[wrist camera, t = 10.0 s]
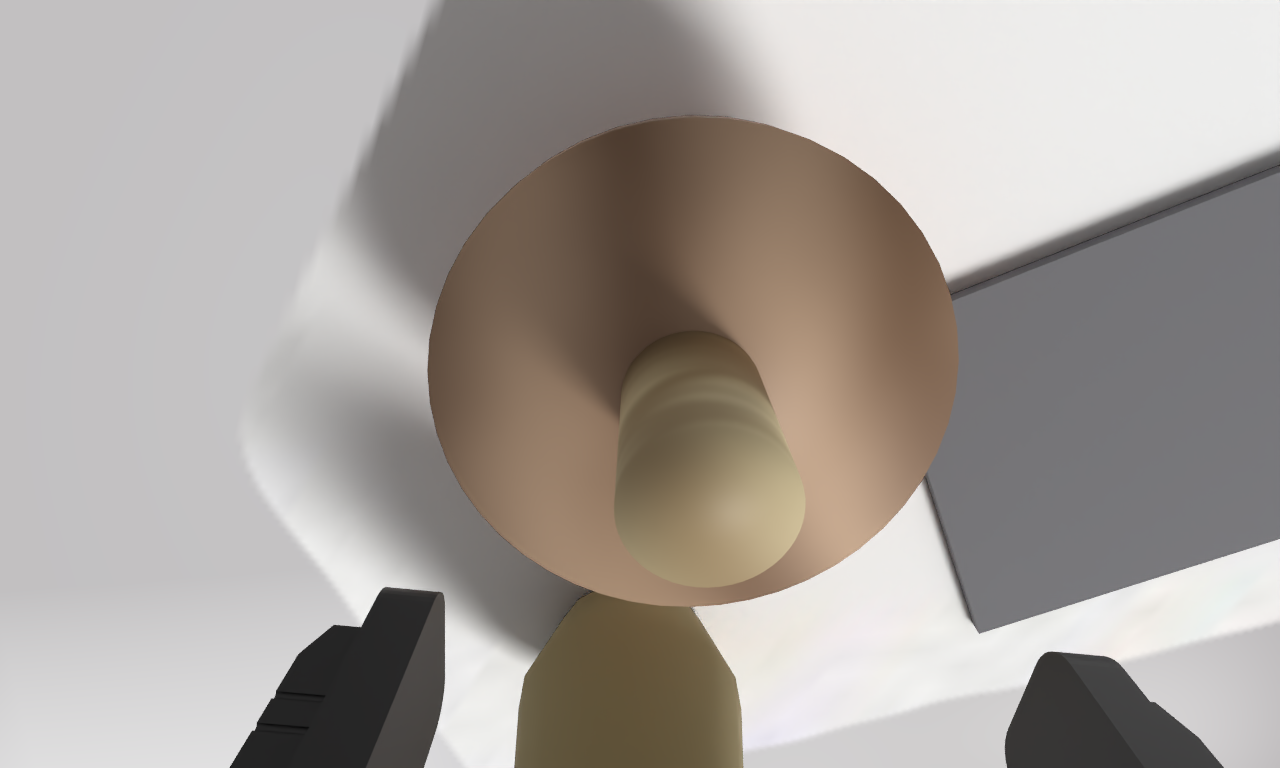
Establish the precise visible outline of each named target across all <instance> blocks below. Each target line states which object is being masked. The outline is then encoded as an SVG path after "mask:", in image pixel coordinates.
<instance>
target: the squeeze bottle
mask: <svg viewBox="0 0 1280 768" xmlns="http://www.w3.org/2000/svg"><path fill="white" fill-rule="evenodd" d="M514 768H743V746H742V718H741V706H740V700H739V695H738V689H737V684H736V679H735V676H734V674H733V673H732V671H731V670H730V668H729V666H728V665H727V663H726V662H725V660H724V658H723V657H722V655H721V654H720V652H719V650H718V649H717V647H716V645H715V644H714V642H713V641H712V639H711V637H710V636H709V634H708V633H707V631H706V629H705V628H704V626H703V625H702V623H701V621H700V620H699V618H698V617H697V616H696V615H695V613H694V612H693V611H692V610H691V608H690V607H683V606H659V605H652V604H645V603H638V602H631V601H627V600H623V599H619V598H615V597H611V596H607V595H603V594H600V593H597V592H595V591H593V592H591V593H590V594H588V595H586V596H584V597H582V598H580V599H579V600H578V601H577V602H576V603H575V605H574V606H573V607H572V608H571V610H570V611H569V612H568V613H567V615H566V616H565V617H564V618H563V620H562V621H561V623H560V624H559V626H558V627H557V629H556V630H555V632H554V633H553V635H552V636H551V638H550V639H549V641H548V642H547V644H546V645H545V647H544V648H543V650H542V651H541V653H540V654H539V655H538V657H537V658H536V660H535V661H534V663H533V664H532V666H531V667H530V669H529V670H528V672H527V673H526V675H525V678H524V683H523V688H522V694H521V699H520V704H519V712H518V726H517V739H516V753H515V767H514Z"/></svg>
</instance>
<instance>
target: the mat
mask: <svg viewBox="0 0 1280 768" xmlns="http://www.w3.org/2000/svg"><path fill="white" fill-rule="evenodd" d="M951 299H952V304H953V309H954V314H955V320H956V325H957V334H958V354H959V364H958V374H957V385H956V394H955V398H954V402H953V406H952V411H951V415H950V419H949V423H948V426H947V429H946V431H945V434H944V436H943V439H942V441H941V444H940V447H939V449H938V452H937V454H936V456H935V458H934V459H933V461H932V463H931V465H930V467H929V469H928V471H927V472H926V474H925V476H926V479H927V482H928V485H929V488H930V492H931V495H932V498H933V501H934V504H935V507H936V510H937V513H938V516H939V519H940V522H941V525H942V529H943V532H944V535H945V538H946V541H947V544H948V547H949V550H950V553H951V556H952V559H953V562H954V565H955V569H956V572H957V575H958V578H959V581H960V584H961V587H962V590H963V593H964V596H965V599H966V602H967V605H968V609H969V612H970V615H971V618H972V621H973V624H974V626H975V628H976V629H977V631H978V633H979V634H980V633H983V632H986V631H989V630H992V629H995V628H999V627H1002V626H1005V625H1008V624H1011V623H1014V622H1018V621H1021V620H1024V619H1027V618H1030V617H1033V616H1037V615H1040V614H1043V613H1046V612H1049V611H1052V610H1056V609H1059V608H1062V607H1065V606H1068V605H1072V604H1075V603H1078V602H1081V601H1084V600H1087V599H1091V598H1094V597H1097V596H1100V595H1103V594H1106V593H1110V592H1113V591H1116V590H1119V589H1122V588H1125V587H1129V586H1132V585H1135V584H1138V583H1141V582H1144V581H1148V580H1151V579H1154V578H1157V577H1160V576H1164V575H1167V574H1170V573H1173V572H1176V571H1179V570H1183V569H1186V568H1189V567H1192V566H1195V565H1198V564H1202V563H1205V562H1208V561H1211V560H1214V559H1217V558H1221V557H1224V556H1227V555H1230V554H1233V553H1236V552H1240V551H1243V550H1246V549H1249V548H1252V547H1255V546H1259V545H1262V544H1265V543H1268V542H1271V541H1275V540H1278V539H1280V165H1279V166H1276V167H1273V168H1271V169H1268V170H1266V171H1263V172H1261V173H1258V174H1256V175H1253V176H1251V177H1248V178H1246V179H1243V180H1241V181H1238V182H1236V183H1233V184H1230V185H1228V186H1225V187H1223V188H1220V189H1218V190H1215V191H1213V192H1210V193H1208V194H1205V195H1203V196H1200V197H1198V198H1195V199H1192V200H1190V201H1187V202H1185V203H1182V204H1180V205H1177V206H1175V207H1172V208H1170V209H1167V210H1165V211H1162V212H1160V213H1157V214H1154V215H1152V216H1149V217H1147V218H1144V219H1142V220H1139V221H1137V222H1134V223H1132V224H1129V225H1127V226H1124V227H1122V228H1119V229H1116V230H1114V231H1111V232H1109V233H1106V234H1104V235H1101V236H1099V237H1096V238H1094V239H1091V240H1089V241H1086V242H1084V243H1081V244H1078V245H1076V246H1073V247H1071V248H1068V249H1066V250H1063V251H1061V252H1058V253H1056V254H1053V255H1051V256H1048V257H1046V258H1043V259H1040V260H1038V261H1035V262H1033V263H1030V264H1028V265H1025V266H1023V267H1020V268H1018V269H1015V270H1013V271H1010V272H1008V273H1005V274H1003V275H1000V276H997V277H995V278H992V279H990V280H987V281H985V282H982V283H980V284H977V285H975V286H972V287H970V288H967V289H965V290H962V291H959V292H957V293H954V294H952V295H951Z"/></svg>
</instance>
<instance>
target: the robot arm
mask: <svg viewBox="0 0 1280 768" xmlns="http://www.w3.org/2000/svg"><path fill="white" fill-rule="evenodd" d="M444 684H445V601H444V595H443V593H441V592H433V591H422V590H411V589H401V588H390V587H385V588H383V589H382V590H381V592H380V593H379V594H378V596H377V598H376V600H375V602H374V604H373V606H372V608H371V609H370V611H369V613H368V615H367V617H366V619H365V621H364V623H363V625H362V627H351V626H340V625H333V626H332V627H331V628H330V629H328V630H327V631H326V632H325V633H324V634H322V635H321V636H320V637H319V638H318V639H316V640H315V641H314V642H313V643H311V644H310V645H309V646H308V647H307V648H305V649H304V650H303V651H302V652H301V653H299V654H298V656H297V657H296V659H295V661H294V663H293V664H292V666H291V668H290V669H289V671H288V672H287V674H286V676H285V677H284V679H283V681H282V682H281V684H280V686H279V687H278V689H277V690H276V696H275V698H274V699H271V700H270V702H269V704H268V705H267V707H266V709H265V710H264V712H263V714H262V716H261V717H260V718H259V720H258V722H257V727H256V729H255V731H252V732H251V733H250V735H249V737H248V739H247V740H246V742H245V743H244V745H243V747H242V748H241V750H240V752H239V753H238V755H237V756H236V758H235V760H234V761H233V763H232V765H231V766H230V768H424V765H425V762H426V759H427V756H428V753H429V750H430V747H431V744H432V741H433V738H434V735H435V731H436V728H437V725H438V721H439V716H440V712H441V707H442V701H443V694H444ZM1005 756H1006V763H1007V768H1224V767H1223V766H1222V765H1221V764H1220V763H1219V761H1218V760H1217V759H1216V758H1215V757H1214V756H1213V754H1212V753H1211V752H1210V751H1209V750H1208V748H1207V747H1206V746H1205V745H1204V743H1203V742H1202V741H1201V740H1200V739H1199V738H1198V737H1197V736H1196V735H1195V734H1193V733H1192V732H1191V731H1190V730H1188V729H1187V728H1186V727H1185V726H1183V725H1182V724H1181V723H1180V722H1179V721H1177V720H1176V719H1175V718H1174V717H1172V716H1171V715H1170V714H1169V713H1167V712H1166V711H1165V710H1164V709H1163V708H1161V707H1160V706H1159V705H1158V704H1156V703H1155V702H1150V701H1149V700H1148V699H1147V697H1146V696H1145V695H1144V694H1143V692H1142V691H1141V690H1140V689H1139V687H1138V686H1137V685H1136V684H1135V682H1134V681H1133V680H1132V679H1131V678H1130V676H1129V675H1128V674H1127V672H1126V671H1125V670H1124V669H1123V668H1122V667H1121V665H1120V664H1119V663H1117V662H1116V661H1115V660H1113V659H1111V658H1109V657H1105V656H1094V655H1084V654H1073V653H1062V652H1047V653H1045V654H1043V655H1042V656H1041V657H1040V659H1039V660H1038V662H1037V664H1036V666H1035V669H1034V671H1033V673H1032V675H1031V678H1030V680H1029V682H1028V685H1027V687H1026V689H1025V692H1024V694H1023V696H1022V699H1021V701H1020V703H1019V705H1018V708H1017V710H1016V712H1015V715H1014V717H1013V719H1012V722H1011V724H1010V726H1009V728H1008V731H1007V735H1006V740H1005Z"/></svg>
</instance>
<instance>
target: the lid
mask: <svg viewBox="0 0 1280 768" xmlns="http://www.w3.org/2000/svg"><path fill="white" fill-rule="evenodd" d="M958 364H959V354H958V334H957V325H956V320H955V314H954V309H953V304H952V299H951V295H950V292H949V289H948V287H947V284H946V281H945V278H944V276H943V273H942V270H941V267H940V264H939V262H938V260H937V259H936V257H935V255H934V253H933V251H932V249H931V248H930V246H929V244H928V242H927V240H926V238H925V237H924V235H923V233H922V232H921V230H920V229H919V228H918V226H917V225H916V224H915V222H914V221H913V220H912V218H911V217H910V216H909V214H908V213H907V212H906V210H905V209H904V208H903V207H902V205H901V204H900V203H899V202H898V201H897V200H896V199H895V198H894V197H893V196H892V195H891V194H890V193H889V192H888V191H887V190H885V189H884V188H883V187H882V186H881V185H880V184H879V183H878V182H877V181H876V180H875V179H874V178H873V177H871V176H870V175H868V174H867V173H866V172H864V171H863V170H861V169H860V168H859V167H857V166H856V165H854V164H853V163H852V162H850V161H849V160H847V159H846V158H845V157H843V156H841V155H839V154H837V153H835V152H833V151H831V150H829V149H827V148H825V147H823V146H821V145H819V144H817V143H816V142H814V141H812V140H810V139H807V138H804V137H801V136H799V135H796V134H793V133H790V132H787V131H784V130H781V129H778V128H775V127H772V126H769V125H766V124H763V123H758V122H753V121H747V120H742V119H737V118H731V117H722V116H700V115H685V116H675V117H664V118H654V119H649V120H645V121H640V122H636V123H632V124H628V125H624V126H619V127H616V128H613V129H610V130H608V131H605V132H603V133H600V134H598V135H595V136H592V137H590V138H587V139H585V140H582V141H580V142H579V143H577V144H575V145H573V146H571V147H570V148H568V149H566V150H564V151H562V152H561V153H559V154H557V155H555V156H553V157H552V158H550V159H549V160H547V161H546V162H545V163H543V164H542V165H541V166H539V167H538V168H537V169H535V170H534V171H533V172H531V173H530V174H529V175H528V176H526V177H525V178H524V179H522V180H521V181H520V182H519V183H517V184H516V185H515V186H514V187H513V188H512V189H511V190H510V191H509V192H508V193H507V194H506V195H505V196H504V197H503V198H502V199H501V200H500V201H499V202H498V203H497V204H496V205H495V206H494V207H493V208H492V209H491V210H490V211H489V212H488V213H487V214H486V215H485V217H484V218H483V219H482V221H481V222H480V223H479V225H478V226H477V227H476V229H475V230H474V231H473V233H472V234H471V236H470V237H469V238H468V240H467V241H466V242H465V244H464V246H463V248H462V249H461V251H460V253H459V255H458V257H457V259H456V260H455V262H454V264H453V266H452V268H451V270H450V272H449V273H448V276H447V279H446V281H445V284H444V287H443V289H442V292H441V295H440V298H439V300H438V303H437V306H436V310H435V315H434V320H433V325H432V329H431V334H430V339H429V355H428V384H429V396H430V405H431V409H432V414H433V418H434V423H435V427H436V432H437V435H438V438H439V440H440V443H441V446H442V448H443V451H444V454H445V456H446V459H447V462H448V464H449V465H450V467H451V469H452V471H453V473H454V475H455V477H456V478H457V480H458V482H459V484H460V486H461V488H462V489H463V491H464V492H465V494H466V495H467V496H468V498H469V499H470V501H471V502H472V503H473V505H474V506H475V507H476V509H477V510H478V512H479V513H480V514H481V515H482V516H483V517H484V518H485V520H486V521H487V522H488V523H489V524H490V525H491V526H492V527H493V528H494V529H495V530H496V531H497V532H498V533H499V535H501V536H502V537H503V538H504V539H505V540H506V541H508V542H509V543H510V544H511V545H512V546H514V547H515V548H516V549H517V550H518V551H520V552H521V553H522V554H523V555H525V556H526V557H528V558H529V559H531V560H532V561H534V562H535V563H537V564H538V565H540V566H541V567H543V568H545V569H546V570H548V571H550V572H552V573H554V574H556V575H558V576H559V577H561V578H563V579H565V580H567V581H569V582H571V583H573V584H576V585H579V586H581V587H584V588H587V589H589V590H592V591H595V592H597V593H600V594H603V595H607V596H611V597H615V598H619V599H623V600H627V601H631V602H638V603H645V604H652V605H659V606H683V607H695V606H709V605H722V604H728V603H733V602H739V601H745V600H750V599H754V598H757V597H761V596H764V595H768V594H772V593H775V592H779V591H781V590H784V589H786V588H789V587H791V586H794V585H796V584H799V583H801V582H804V581H806V580H808V579H810V578H812V577H814V576H816V575H818V574H820V573H822V572H823V571H825V570H827V569H829V568H831V567H833V566H835V565H836V564H838V563H839V562H841V561H842V560H843V559H845V558H846V557H848V556H849V555H851V554H852V553H854V552H855V551H857V550H858V549H860V548H861V547H862V546H863V545H864V544H865V543H867V542H868V541H869V540H870V539H871V538H872V537H874V536H875V535H876V534H877V533H878V532H879V531H881V530H882V529H883V528H884V527H885V526H886V525H887V524H888V522H889V521H890V520H891V519H892V518H893V517H894V516H895V515H896V514H897V513H898V512H899V510H900V509H901V508H902V507H903V506H904V505H905V504H906V502H907V501H908V499H909V498H910V497H911V495H912V494H913V492H914V491H915V490H916V488H917V487H918V485H919V484H920V483H921V481H922V480H923V478H924V476H925V474H926V472H927V471H928V469H929V467H930V465H931V463H932V461H933V459H934V458H935V456H936V454H937V452H938V449H939V447H940V444H941V441H942V439H943V436H944V434H945V431H946V429H947V426H948V423H949V419H950V415H951V411H952V406H953V402H954V398H955V394H956V385H957V374H958Z"/></svg>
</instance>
